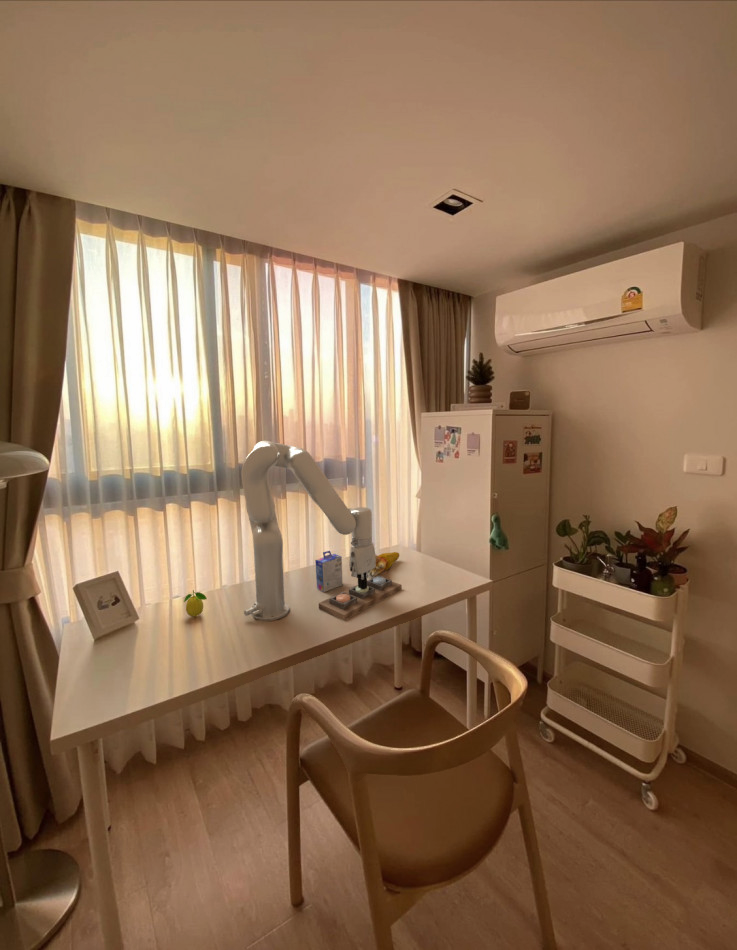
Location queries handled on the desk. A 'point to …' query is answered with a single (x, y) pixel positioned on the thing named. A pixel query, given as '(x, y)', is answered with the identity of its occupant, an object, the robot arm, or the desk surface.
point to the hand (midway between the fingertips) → (362, 587)
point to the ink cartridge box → (329, 572)
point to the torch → (384, 562)
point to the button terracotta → (343, 598)
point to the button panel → (359, 599)
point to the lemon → (194, 603)
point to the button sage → (362, 590)
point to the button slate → (379, 580)
